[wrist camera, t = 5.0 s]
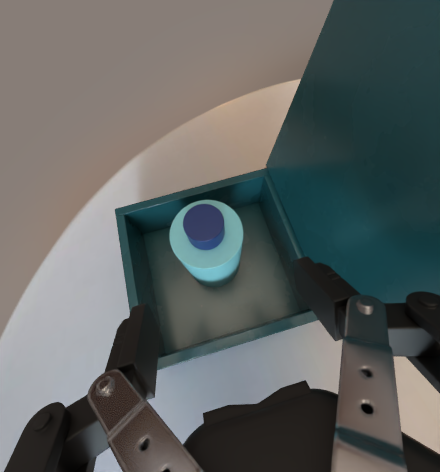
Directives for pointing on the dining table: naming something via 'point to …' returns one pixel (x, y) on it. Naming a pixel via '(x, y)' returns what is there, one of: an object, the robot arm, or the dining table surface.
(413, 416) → the dining table surface
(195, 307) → the teal open box
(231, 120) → the dining table surface
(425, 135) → the teal box lid
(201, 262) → the water bottle
